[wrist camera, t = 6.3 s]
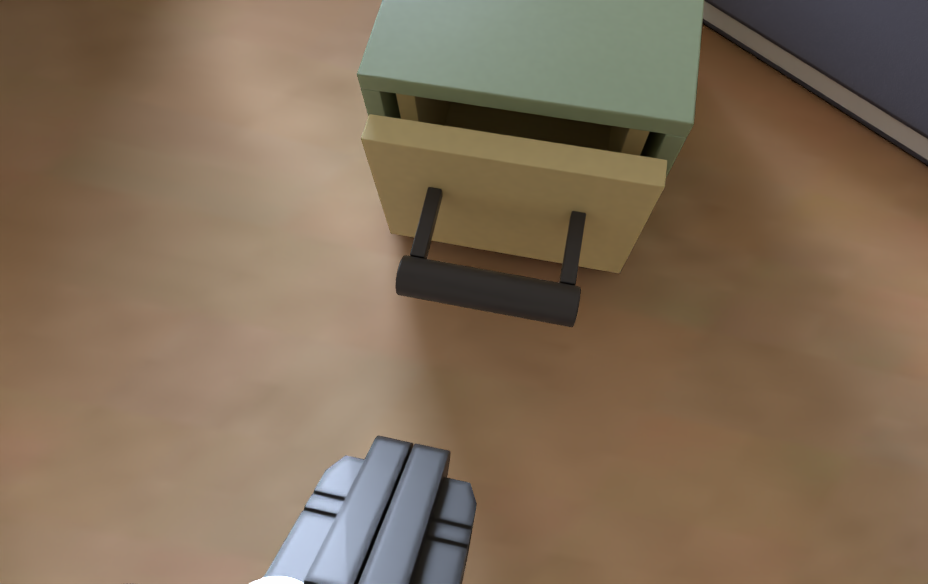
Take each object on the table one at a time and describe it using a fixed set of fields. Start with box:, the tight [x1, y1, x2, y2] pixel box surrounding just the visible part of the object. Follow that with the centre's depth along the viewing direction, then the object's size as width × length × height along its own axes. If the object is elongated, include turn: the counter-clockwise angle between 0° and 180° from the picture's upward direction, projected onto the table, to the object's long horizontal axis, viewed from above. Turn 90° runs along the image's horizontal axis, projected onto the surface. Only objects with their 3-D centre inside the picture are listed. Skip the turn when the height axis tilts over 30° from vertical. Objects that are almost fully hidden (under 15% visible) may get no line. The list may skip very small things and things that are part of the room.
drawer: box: [361, 94, 667, 327], centre depth 27 cm, size 18×11×8 cm, turn 168°
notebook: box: [703, 0, 928, 165], centre depth 35 cm, size 13×2×21 cm
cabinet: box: [357, 0, 704, 177], centre depth 29 cm, size 15×13×10 cm
